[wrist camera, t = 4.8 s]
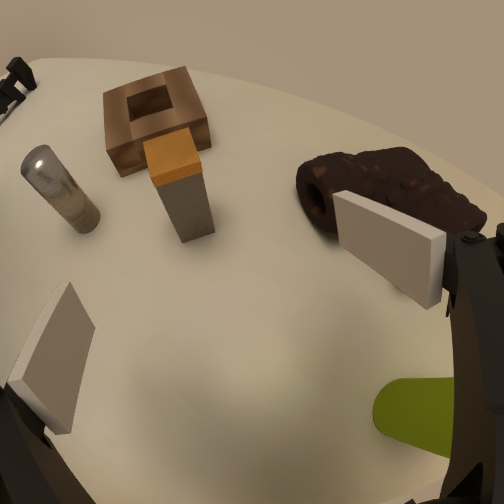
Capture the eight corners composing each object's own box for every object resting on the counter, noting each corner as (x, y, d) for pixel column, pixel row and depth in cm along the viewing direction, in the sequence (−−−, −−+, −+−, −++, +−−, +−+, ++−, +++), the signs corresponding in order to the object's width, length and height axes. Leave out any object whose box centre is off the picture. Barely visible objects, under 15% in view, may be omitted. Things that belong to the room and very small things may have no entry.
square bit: (181, 243, 30) (150, 177, 19) (173, 214, 31) (142, 142, 20) (215, 232, 30) (200, 161, 20) (205, 203, 31) (188, 127, 21)
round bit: (69, 224, 30) (15, 169, 20) (87, 201, 31) (40, 140, 21) (86, 238, 30) (30, 183, 19) (105, 214, 31) (57, 151, 20)
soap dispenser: (374, 452, 22) (530, 524, 4) (370, 385, 25) (550, 385, 6) (426, 435, 22) (589, 462, 4) (422, 372, 25) (597, 343, 6)
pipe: (295, 134, 25) (410, 269, 18) (405, 111, 29) (502, 205, 22) (287, 205, 34) (365, 320, 26) (383, 170, 37) (458, 258, 30)
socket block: (121, 177, 32) (106, 150, 28) (114, 118, 36) (103, 93, 31) (211, 147, 34) (206, 116, 29) (190, 93, 38) (185, 65, 33)
